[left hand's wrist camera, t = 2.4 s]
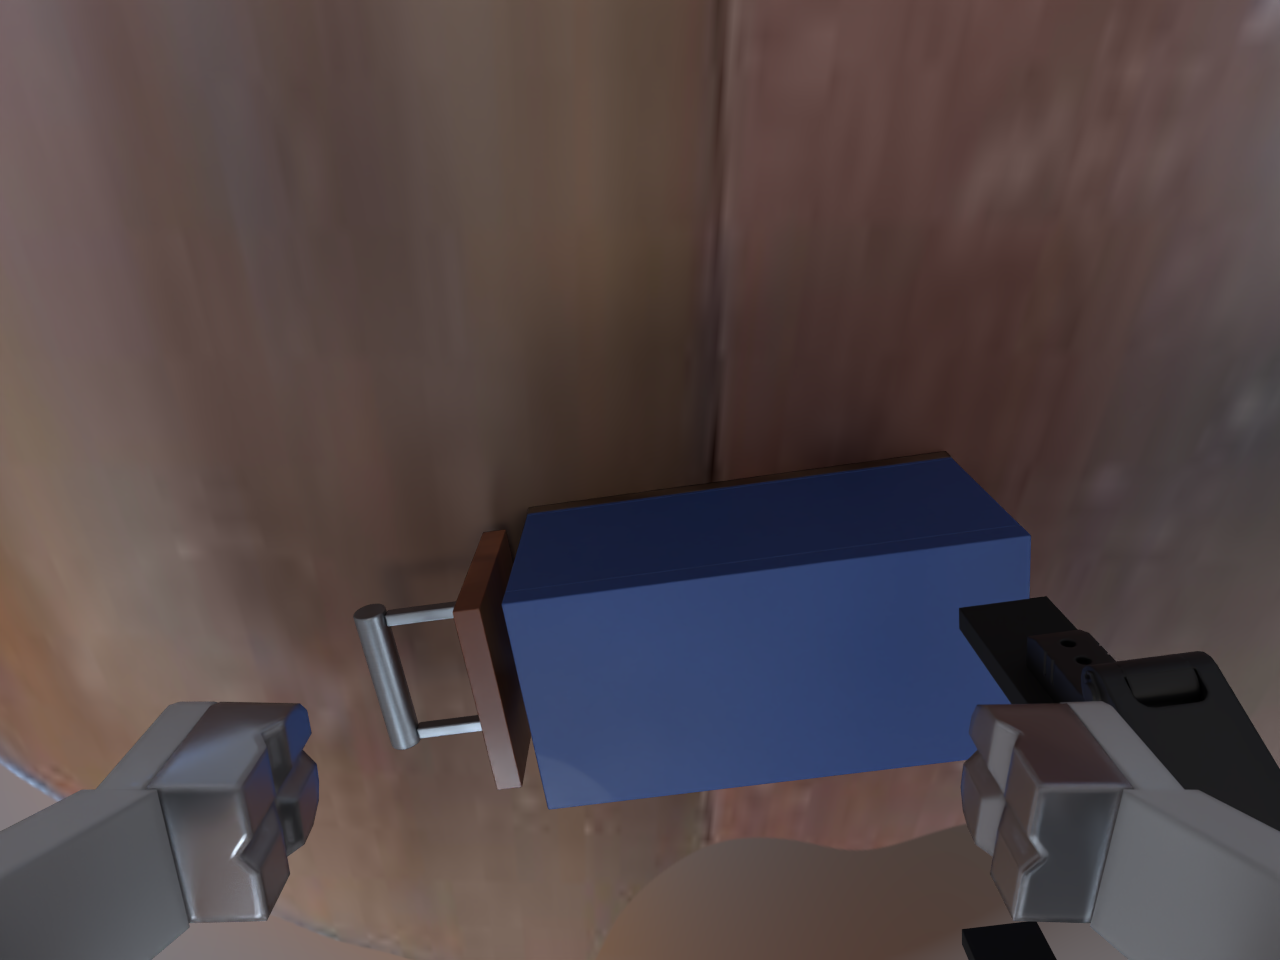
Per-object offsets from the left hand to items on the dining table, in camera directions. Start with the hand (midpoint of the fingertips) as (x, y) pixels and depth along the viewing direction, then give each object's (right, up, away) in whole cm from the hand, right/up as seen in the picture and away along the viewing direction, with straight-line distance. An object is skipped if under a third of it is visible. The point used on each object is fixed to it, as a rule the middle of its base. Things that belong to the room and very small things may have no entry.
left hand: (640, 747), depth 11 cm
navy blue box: (+6, -2, +36) cm, 36 cm away
